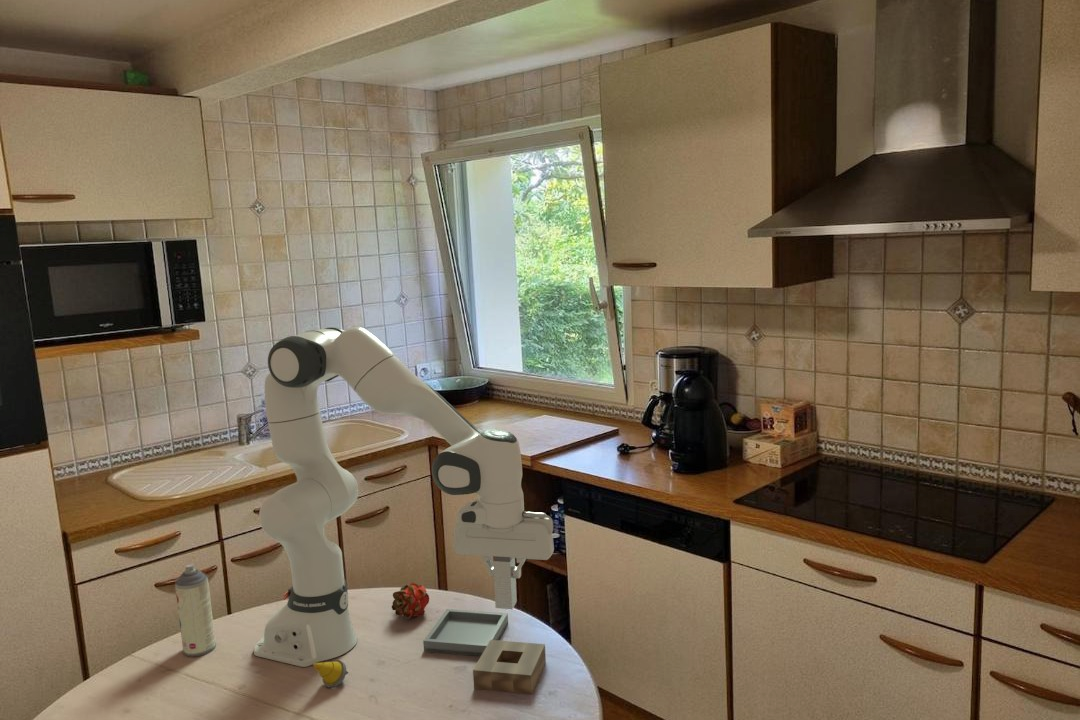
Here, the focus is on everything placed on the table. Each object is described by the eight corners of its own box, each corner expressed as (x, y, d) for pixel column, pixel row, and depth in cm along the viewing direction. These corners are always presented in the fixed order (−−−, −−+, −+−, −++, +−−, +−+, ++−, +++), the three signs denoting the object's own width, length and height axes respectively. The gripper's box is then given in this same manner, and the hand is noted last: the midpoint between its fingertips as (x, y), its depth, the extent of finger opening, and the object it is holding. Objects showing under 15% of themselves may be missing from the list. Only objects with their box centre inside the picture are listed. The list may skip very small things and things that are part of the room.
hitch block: (474, 688, 159) (472, 670, 159) (491, 657, 171) (490, 639, 170) (532, 694, 156) (531, 675, 156) (545, 661, 168) (544, 644, 167)
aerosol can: (190, 642, 183) (180, 560, 180) (220, 640, 183) (210, 558, 180) (178, 657, 176) (167, 572, 173) (209, 656, 177) (198, 571, 173)
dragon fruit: (400, 634, 186) (416, 617, 198) (428, 613, 185) (442, 597, 196) (379, 604, 186) (396, 589, 198) (407, 583, 185) (422, 569, 197)
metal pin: (495, 608, 160) (492, 556, 158) (500, 600, 163) (497, 549, 161) (512, 609, 159) (509, 557, 157) (516, 601, 162) (514, 550, 161)
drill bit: (354, 687, 163) (322, 672, 156) (333, 695, 164) (301, 681, 157) (355, 661, 166) (324, 646, 160) (334, 669, 168) (302, 655, 161)
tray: (424, 651, 174) (423, 640, 174) (447, 618, 189) (446, 608, 188) (489, 656, 171) (488, 646, 170) (508, 623, 185) (507, 613, 185)
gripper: (556, 507, 159) (558, 572, 161) (459, 503, 163) (462, 566, 166) (549, 519, 152) (551, 586, 155) (448, 513, 157) (452, 579, 160)
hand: (504, 576), depth 160 cm, fingers closed on metal pin, 3 cm apart
